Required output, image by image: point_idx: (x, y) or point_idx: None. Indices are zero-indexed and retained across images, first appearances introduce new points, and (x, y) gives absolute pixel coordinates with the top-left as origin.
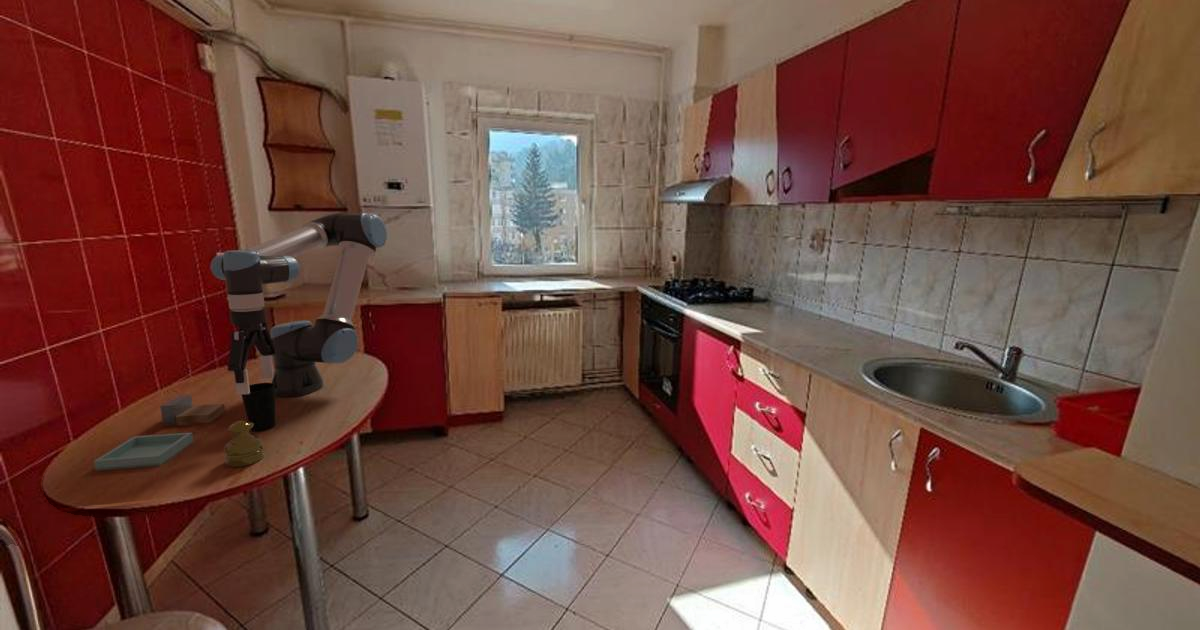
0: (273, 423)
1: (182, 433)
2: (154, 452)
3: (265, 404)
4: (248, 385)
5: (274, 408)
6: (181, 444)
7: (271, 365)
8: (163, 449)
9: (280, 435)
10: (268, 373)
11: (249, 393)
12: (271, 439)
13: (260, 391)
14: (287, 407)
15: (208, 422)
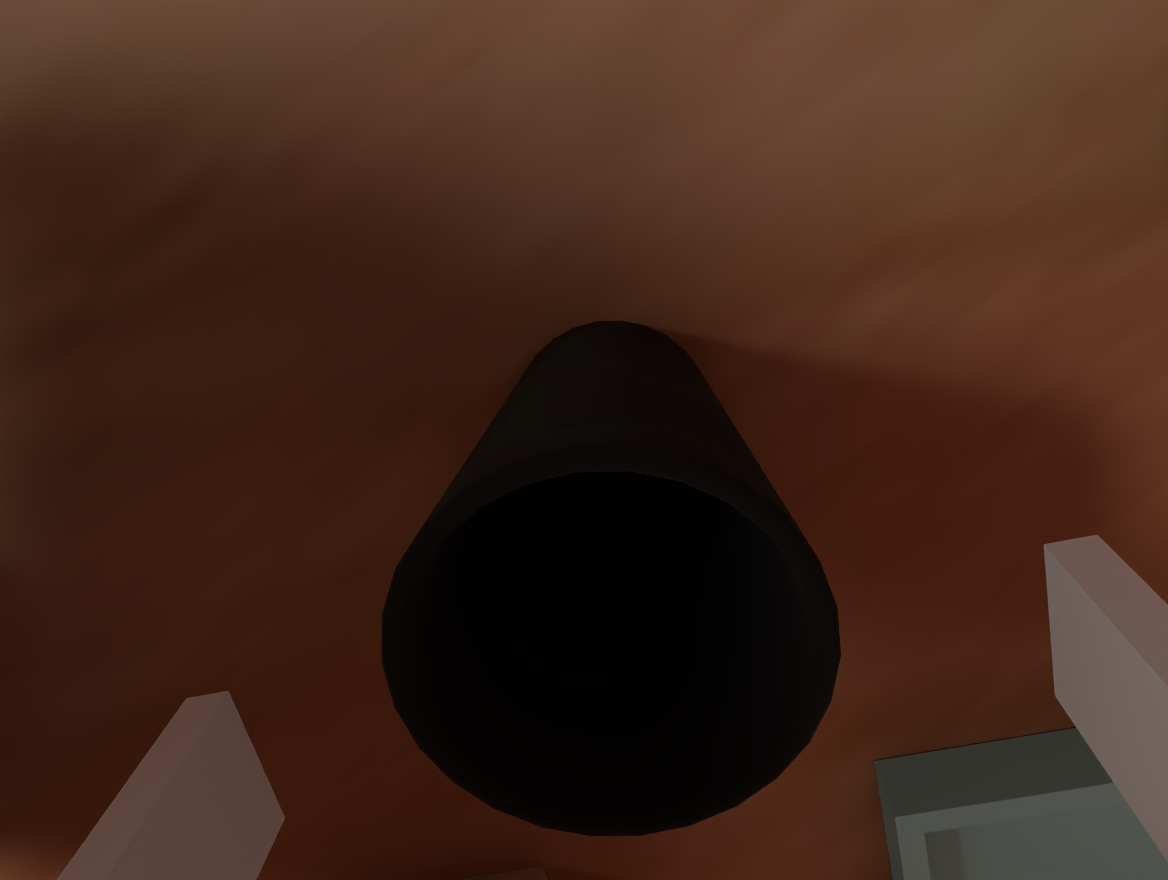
0: (603, 329)
1: (909, 865)
2: (1088, 855)
3: (708, 411)
4: (1151, 622)
5: (562, 369)
6: (1033, 767)
7: (102, 867)
8: (1045, 836)
9: (780, 129)
10: (213, 793)
11: (1073, 539)
12: (872, 160)
13: (784, 516)
14: (130, 503)
15: (545, 878)
